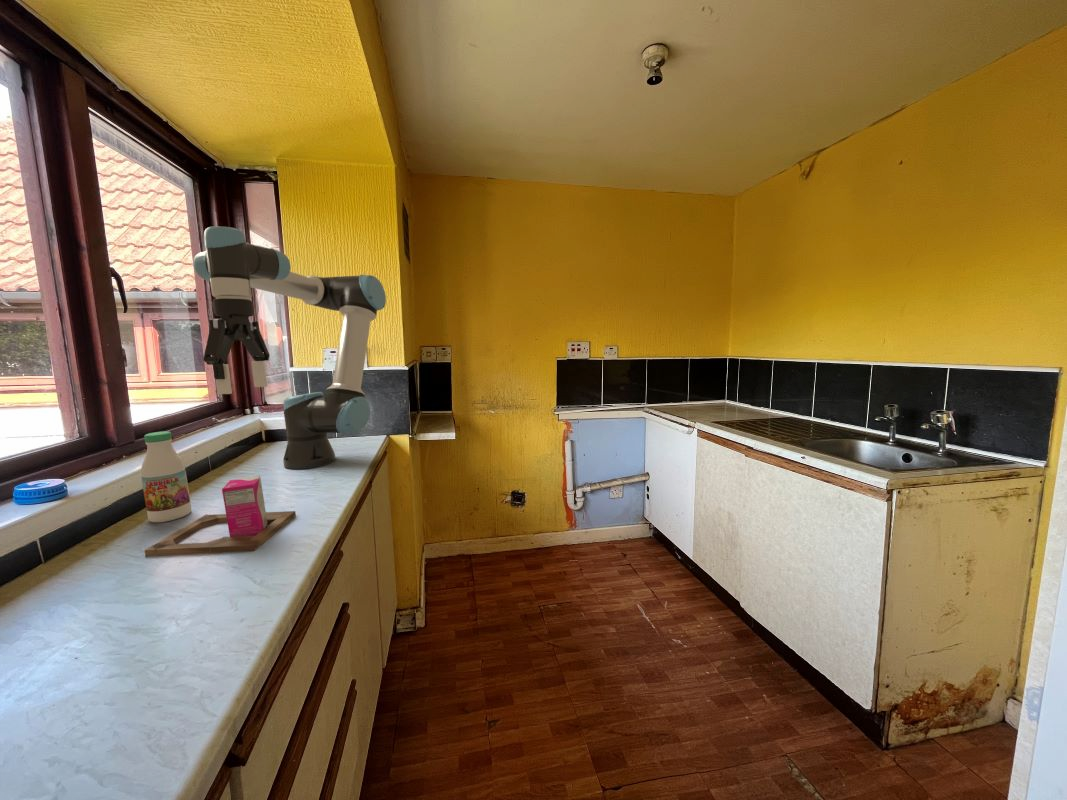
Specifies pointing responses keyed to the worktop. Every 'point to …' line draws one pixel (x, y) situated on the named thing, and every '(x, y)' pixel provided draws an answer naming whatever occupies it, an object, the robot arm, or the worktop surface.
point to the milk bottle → (164, 480)
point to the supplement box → (244, 506)
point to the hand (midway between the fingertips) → (244, 390)
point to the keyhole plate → (222, 544)
